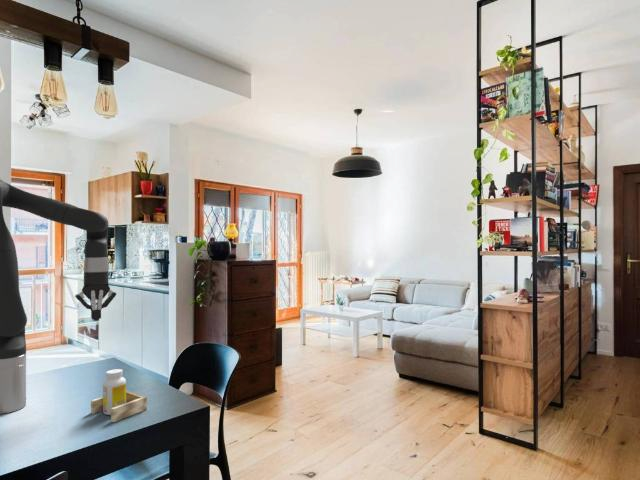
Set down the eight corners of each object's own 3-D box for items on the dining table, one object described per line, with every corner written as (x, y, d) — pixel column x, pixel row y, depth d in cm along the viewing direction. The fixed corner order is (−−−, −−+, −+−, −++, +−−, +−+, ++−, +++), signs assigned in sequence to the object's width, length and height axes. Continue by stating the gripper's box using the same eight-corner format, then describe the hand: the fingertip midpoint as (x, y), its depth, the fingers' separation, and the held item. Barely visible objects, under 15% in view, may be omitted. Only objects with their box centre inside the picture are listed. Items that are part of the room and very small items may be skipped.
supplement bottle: (130, 407, 132) (130, 368, 132) (119, 416, 125) (119, 374, 126) (110, 407, 132) (110, 367, 133) (98, 415, 126) (98, 374, 126)
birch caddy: (113, 422, 121) (113, 409, 121) (90, 413, 128) (90, 400, 128) (146, 409, 130) (146, 397, 130) (124, 401, 137) (124, 389, 137)
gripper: (75, 271, 133) (75, 324, 133) (119, 270, 141) (119, 319, 141) (72, 270, 139) (72, 321, 139) (115, 269, 147) (114, 316, 147)
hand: (96, 320), depth 140 cm, fingers closed
